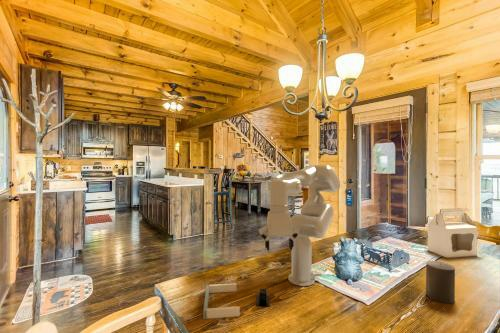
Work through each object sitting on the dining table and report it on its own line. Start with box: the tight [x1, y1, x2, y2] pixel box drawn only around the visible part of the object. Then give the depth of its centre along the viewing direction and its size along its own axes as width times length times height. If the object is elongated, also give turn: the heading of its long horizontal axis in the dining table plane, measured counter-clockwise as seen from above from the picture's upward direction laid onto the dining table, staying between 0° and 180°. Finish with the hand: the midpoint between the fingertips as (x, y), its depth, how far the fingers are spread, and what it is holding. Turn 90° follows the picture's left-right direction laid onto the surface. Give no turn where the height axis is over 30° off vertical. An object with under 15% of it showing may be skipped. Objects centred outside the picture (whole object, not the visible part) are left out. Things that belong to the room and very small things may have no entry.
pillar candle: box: [425, 260, 456, 304], centre depth 105 cm, size 10×10×15 cm
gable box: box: [427, 207, 478, 258], centre depth 156 cm, size 22×13×28 cm, turn 99°
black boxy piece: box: [255, 288, 271, 308], centre depth 103 cm, size 12×7×5 cm, turn 175°
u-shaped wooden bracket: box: [202, 282, 241, 320], centre depth 101 cm, size 13×19×3 cm
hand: (279, 249), depth 104 cm, fingers open, 9 cm apart
